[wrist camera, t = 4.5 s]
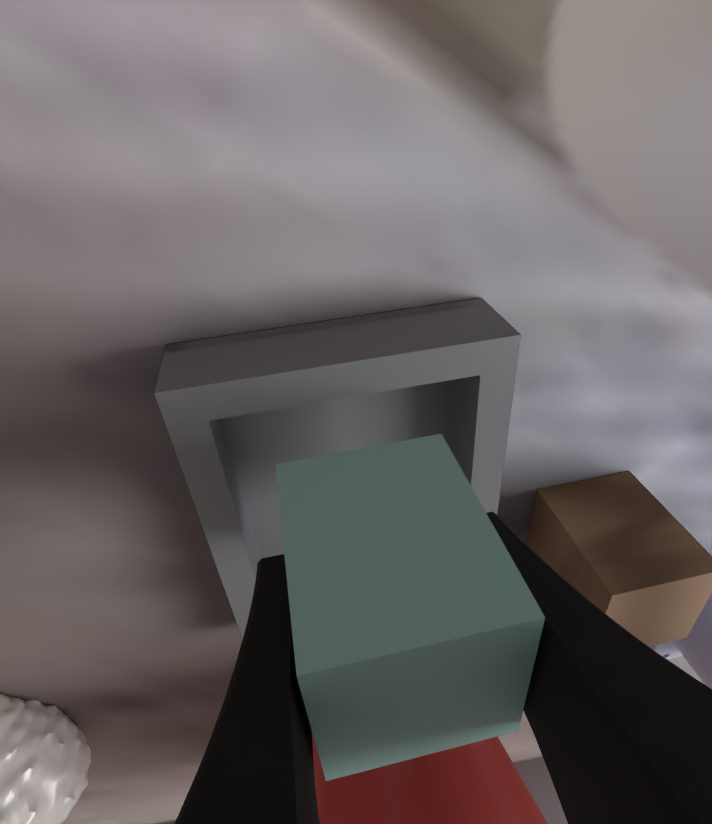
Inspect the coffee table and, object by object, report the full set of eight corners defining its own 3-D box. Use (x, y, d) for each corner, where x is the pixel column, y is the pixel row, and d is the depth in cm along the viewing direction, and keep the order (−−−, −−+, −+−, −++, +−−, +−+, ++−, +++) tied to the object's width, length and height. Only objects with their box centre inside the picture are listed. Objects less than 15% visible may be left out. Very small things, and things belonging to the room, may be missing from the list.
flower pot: (314, 611, 22) (359, 923, 14) (517, 625, 26) (641, 873, 18) (248, 736, 27) (253, 1017, 19) (426, 732, 31) (492, 963, 23)
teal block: (438, 544, 14) (518, 730, 10) (299, 574, 14) (325, 781, 10) (441, 433, 12) (544, 617, 8) (275, 464, 12) (296, 676, 8)
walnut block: (628, 470, 20) (724, 569, 16) (607, 536, 23) (686, 637, 19) (536, 488, 20) (612, 595, 16) (523, 553, 22) (587, 661, 18)
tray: (481, 297, 15) (520, 334, 13) (459, 576, 22) (482, 627, 20) (166, 344, 14) (153, 393, 12) (254, 620, 21) (257, 679, 19)
